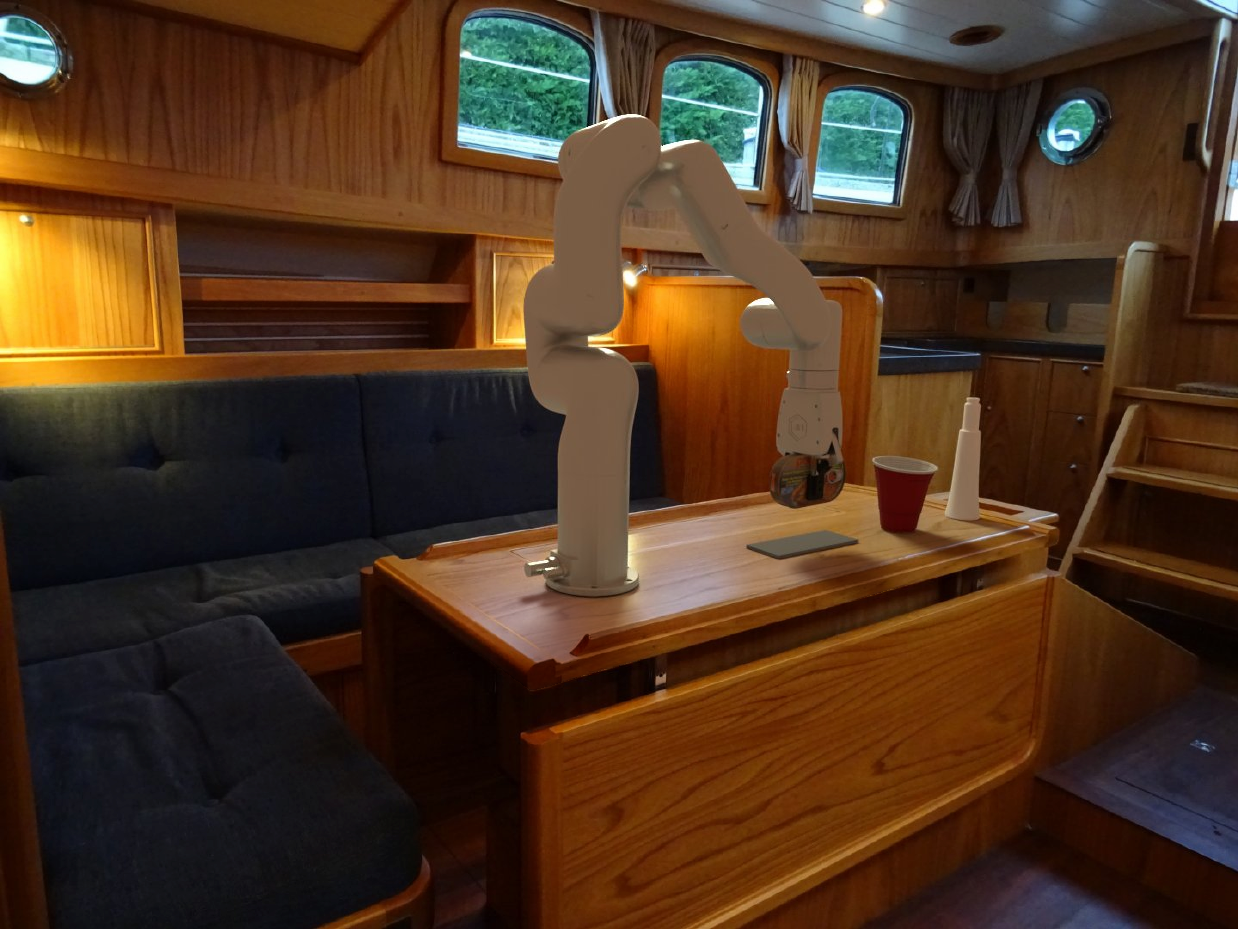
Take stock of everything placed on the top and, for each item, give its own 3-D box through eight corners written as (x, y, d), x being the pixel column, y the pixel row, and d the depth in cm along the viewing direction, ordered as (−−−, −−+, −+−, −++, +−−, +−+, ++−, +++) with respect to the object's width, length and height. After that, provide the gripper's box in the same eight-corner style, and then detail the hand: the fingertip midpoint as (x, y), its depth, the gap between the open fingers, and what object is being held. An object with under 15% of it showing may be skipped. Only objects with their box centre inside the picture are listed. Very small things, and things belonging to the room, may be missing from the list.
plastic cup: (907, 541, 140) (913, 469, 138) (853, 527, 148) (858, 459, 146) (945, 532, 146) (951, 463, 144) (892, 518, 155) (897, 453, 153)
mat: (778, 558, 128) (778, 555, 128) (746, 547, 134) (746, 544, 134) (858, 542, 138) (858, 539, 138) (825, 532, 144) (825, 529, 144)
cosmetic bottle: (941, 517, 156) (952, 398, 152) (947, 511, 161) (958, 395, 157) (977, 522, 153) (989, 400, 149) (981, 515, 158) (993, 397, 154)
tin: (778, 512, 130) (782, 458, 128) (763, 507, 132) (767, 454, 131) (845, 500, 138) (850, 449, 136) (830, 495, 141) (835, 445, 139)
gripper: (758, 377, 136) (753, 490, 139) (836, 386, 123) (829, 511, 126) (792, 376, 140) (786, 485, 144) (871, 384, 127) (863, 504, 130)
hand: (806, 496), depth 135 cm, fingers closed on tin, 2 cm apart
